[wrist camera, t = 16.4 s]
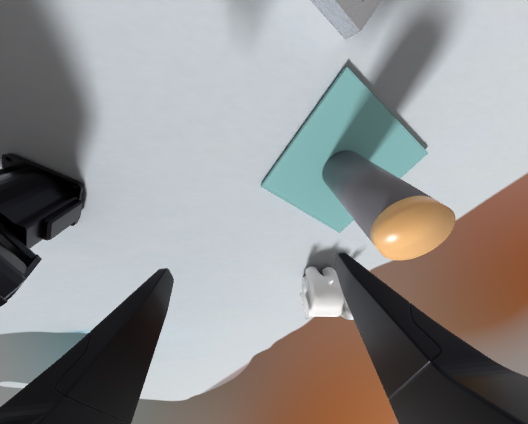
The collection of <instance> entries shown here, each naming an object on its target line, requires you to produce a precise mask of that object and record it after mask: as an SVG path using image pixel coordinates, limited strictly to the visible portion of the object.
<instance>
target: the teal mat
mask: <svg viewBox="0 0 528 424" xmlns="http://www.w3.org/2000/svg"><path fill="white" fill-rule="evenodd" d="M344 150H351V151H354V152H356V153H358V154H359V155H361V156H363V157H364V158H366V159H368V160H369V161H371V162H373V163H374V164H376V165H378V166H379V167H381V168H383V169H385V170H386V171H388V172H390V173H391V174H393V175H395V176H396V177H398V178H401V177H402V176H403V175H404V174H406V173H407V172H408V171H409V170H410V169H411V168H412V167H413V166H414V165H416V164H417V163H418V162H419V161H420V160H421V159H422V158H423V157H424V156H426V155H427V154H428V152H427V151H426V150H425V149H424V148H423V147H422V146H421V145H420V144H419V143H418V141H417V140H416V139H415V138H414V137H413V136H412V135H411V134H410V133H409V132H408V131H407V130H406V129H405V128H404V127H403V126H402V124H401V123H400V122H399V121H398V120H397V119H396V118H395V117H394V116H393V115H392V114H391V113H390V112H389V111H388V110H387V109H386V107H385V106H384V105H383V104H382V103H381V102H380V101H379V100H378V99H377V98H376V97H375V96H374V95H373V94H372V93H371V92H370V90H369V89H368V88H367V87H366V86H365V85H364V84H363V83H362V82H361V81H360V80H359V79H358V78H357V77H356V76H355V75H354V73H353V72H352V71H351V70H350V69H349V68H348V67H345V68H344V69H343V70H342V72H341V73H340V74H339V76H338V77H337V79H336V80H335V81H334V83H333V84H332V86H331V87H330V88H329V90H328V91H327V93H326V94H325V95H324V97H323V98H322V100H321V101H320V102H319V104H318V105H317V107H316V108H315V109H314V111H313V112H312V114H311V115H310V116H309V118H308V119H307V121H306V122H305V123H304V125H303V126H302V128H301V129H300V130H299V132H298V133H297V135H296V136H295V137H294V139H293V140H292V142H291V143H290V144H289V146H288V147H287V149H286V150H285V151H284V153H283V154H282V156H281V157H280V158H279V160H278V161H277V163H276V164H275V165H274V167H273V168H272V170H271V171H270V172H269V174H268V175H267V177H266V178H265V180H264V181H263V182H262V184H261V187H263V188H264V189H266V190H268V191H270V192H271V193H273V194H275V195H276V196H278V197H280V198H281V199H283V200H285V201H287V202H288V203H290V204H292V205H293V206H295V207H297V208H298V209H300V210H302V211H304V212H305V213H307V214H309V215H310V216H312V217H314V218H315V219H317V220H319V221H321V222H322V223H324V224H326V225H327V226H329V227H331V228H332V229H334V230H336V231H337V232H339V233H340V232H341V231H342V230H343V229H345V228H346V227H347V226H348V225H349V224H350V223H351V222H352V221H353V220H354V219H353V217H352V216H351V215H350V214H349V212H348V211H347V210H346V209H345V207H344V206H343V205H342V204H341V202H340V201H339V200H338V199H337V197H336V196H335V195H334V194H333V192H332V191H331V190H330V189H329V187H328V186H327V185H326V184H325V182H324V180H323V177H322V171H323V167H324V165H325V163H326V162H327V160H328V159H329V158H330V157H331V156H332V155H334V154H335V153H337V152H340V151H344Z"/></svg>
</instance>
